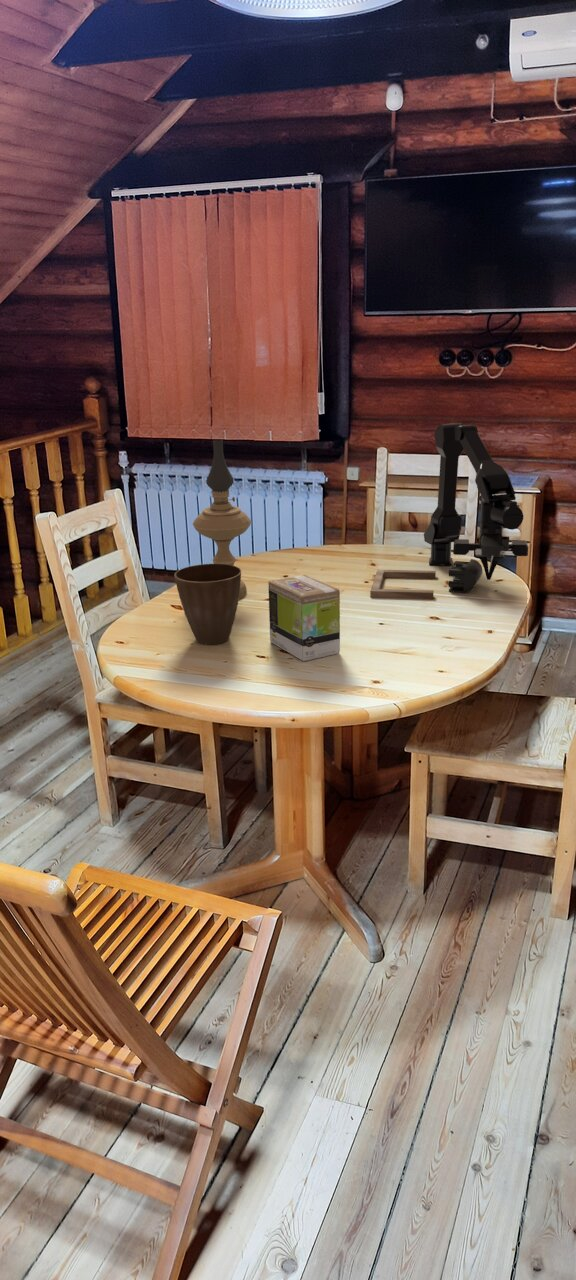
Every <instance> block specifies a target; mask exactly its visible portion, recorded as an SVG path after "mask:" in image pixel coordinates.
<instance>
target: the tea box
mask: <svg viewBox="0 0 576 1280" xmlns="http://www.w3.org/2000/svg"><path fill="white" fill-rule="evenodd" d="M267 584H268V614H269V615H268V616H269V617H268V619H269V640H270V641H269V642H270V643H271V644H273V645H276V646H277V647H278V648H279V649H282V650H284V651H285V652H287V653H288V654H290V655H292V656H294V657H295V658H297V659H299V660H300V661H301V662H306V661H312V660H317V659H321V658H324V657H328V656H333V655H337V654H340V652H341V629H340V628H341V626H340V625H341V624H340V623H341V621H340V620H341V611H340V610H341V606H340V603H341V598H340V597H341V596H340V595H341V593H340V592H341V590H340V589H339V588H337V587H335V586H332V585H331V584H328V583H325V582H323V581H320V580H318V579H315V578H313V577H312V576H311V577H310V576H308V575H306V574H303V575H295V576H289V577H285V578H279V579H274V580H268V583H267Z"/></svg>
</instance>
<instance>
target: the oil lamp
mask: <svg viewBox="0 0 576 1280" xmlns="http://www.w3.org/2000/svg"><path fill="white" fill-rule="evenodd" d="M223 441H224V440H222V439H214V440H213V441H212V444H213V447H212V449H213V459H212V463H211V467H210V470H209V473H208V475H207V478H206V482H205V483H206V485H207V486H208V487H209V488H210V489H211V498H213V502H212V503H211V505H210V506H209V507H205V508H203V509H202V512H200V513H199V514H198V515H197V516H196V518H195V519H194V520H193V522H192V526H193V527H194V529H195V531H197V532H198V534H200V535H202V536H204V537H206V538H208V539H211V540H212V541H213V542H215V544H216V546H217V551H216V553H215V555H214V557H213V558H212V564H227V565H233V566H235V565H234V564H235V562H236V561H237V559H236V557H235V556H234V555H233V553H231V550H230V545H231V542H232V541H233V540H235V538H237V537H240V536H241V535H242V534H244V533H246V532H247V530H248V529H249V527H250V526H251V525H252V520H251V518H250V517H249V516H248V515H247V513H245V512H244V511H243V510H241V508H240V507H239V506H236V505H232V504H231V501H232V502H233V503H235V501H236V498H235V497H234V496H233V497H232V498H231V499H229V497H230V489H231V487H232V486H233V485H234V482H235V481H234V477H233V475H232V473H231V471H230V469H229V468H228V466H227V463H226V460H225V455H224V442H223ZM247 590H248V589H247V586H246V583H245V582H244V581H243V580H242V579H241V582H240V592H239V599H242V598H244V597H246V596H247V593H248V592H247Z"/></svg>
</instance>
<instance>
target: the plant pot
mask: <svg viewBox="0 0 576 1280" xmlns="http://www.w3.org/2000/svg"><path fill="white" fill-rule="evenodd" d="M173 576H174V580H175V583H176V584H175V585H176V589H177V593H178V597H179V599H180V602H181V603H180V604H181V606H182V610H183V612H184V615H185V617H186V620H187V622H188V626H189V628H190V629H191V632H192V633H193V636H194V638H195V640H196V642H197V643H199V644H201V645H206V646H207V645H210V646H212V645H219V644H223V643H226V642H227V641H228V640H229V639H230V635H231V633H232V630H233V627H234V623H235V618H236V614H237V610H238V609H237V608H238V605H239V604H238V603H239V599H240V598H239V592H240V582H241V580H242V569H241V568H240V567H238V566H235V565H234V566H233V565H227V564H214V563H203V564H196V565H195V564H194V565H190V566H186V567H184V568H180V569H179V570H178V569H177V571H175V572H174V575H173Z"/></svg>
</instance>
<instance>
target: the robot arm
mask: <svg viewBox="0 0 576 1280" xmlns="http://www.w3.org/2000/svg"><path fill="white" fill-rule="evenodd" d="M433 435H434V436H433V437H434V440H435V441H434V442H435V443H434V445H435V446H434V447H435V448H436V450H437V452H438V454H439V455H440V456H439V457H440V459H439V460H440V462H439V475H438V478H439V479H438V492H437V493H438V494H437V507H436V509H435V510H434V511H433V513H432V514H431V516H430V522H429V525H428V527H427V528H426V530H425V531H424V533H423V538H424V539H423V540H424V542H425V543H426V544H428V545H430V557H429V559H428V560H429V561H428V565H429V566H453V557H452V555H455V556H466V555H467V554H469V551H473V552H474V553H475V558H476V559H479V560H480V562H481V564H482V568H483V570H484V573H485V576H486V580H487V581H491V579H492V576H493V575H494V574H493V573H494V571H495V569H496V566H497V564H499V561H500V560H501V559H505V558H506V557H505V553H506V552H512V554H513V555H514V556H515V557H528V554H529V544H528V542H527V540H522V539H521V540H519V539H516V540H513V539H512V540H511V543H510V536H505V535H504V536H503V529H504V528H506V529H507V530H511V531H513V530H516V529H517V528H519V527H520V526H521V525H522V523H523V520H524V513H523V510H522V509H521V508H520V507H518V502H517V501H516V491H515V489H514V487H513V485H512V481H511V478H510V476H509V474H508V472H507V471H506V470H505V469H504V467H503V466H502V465H500V464H498V463H496V462H494V460H493V459H492V456H491V455H490V453H489V451H488V450H487V447H486V446H485V444H484V442H483V441H482V438H481V437H480V435H479V433H478V427H477V426H476V425H474V424H463V422H456V423H455V422H454V423H442V424H439V425H438V427H436V429H435V430H434V434H433ZM463 451H464V452H465V454H466V456H467V458H468V460H469V462H470V463H471V465H472V468H473V469H474V471H475V473H476V474H475V480H474V481H475V485H476V488H477V491H478V492H479V494H480V495H479V496H478V497H477V501H478V502H480V521H479V537H478V540H479V543H478V542H477V543H475V542H473V543H471V542H470V540H469V538H468V539H460V536H461V531H462V516H461V515H459V513H458V512H457V509H456V500H457V499H456V498H457V485H458V472H459V470H458V469H459V459H460V457H461V455H462V453H463ZM452 543H453V549H452ZM452 550H453V551H452ZM488 556H489V557H491V558H490V564H489V560H488Z"/></svg>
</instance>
